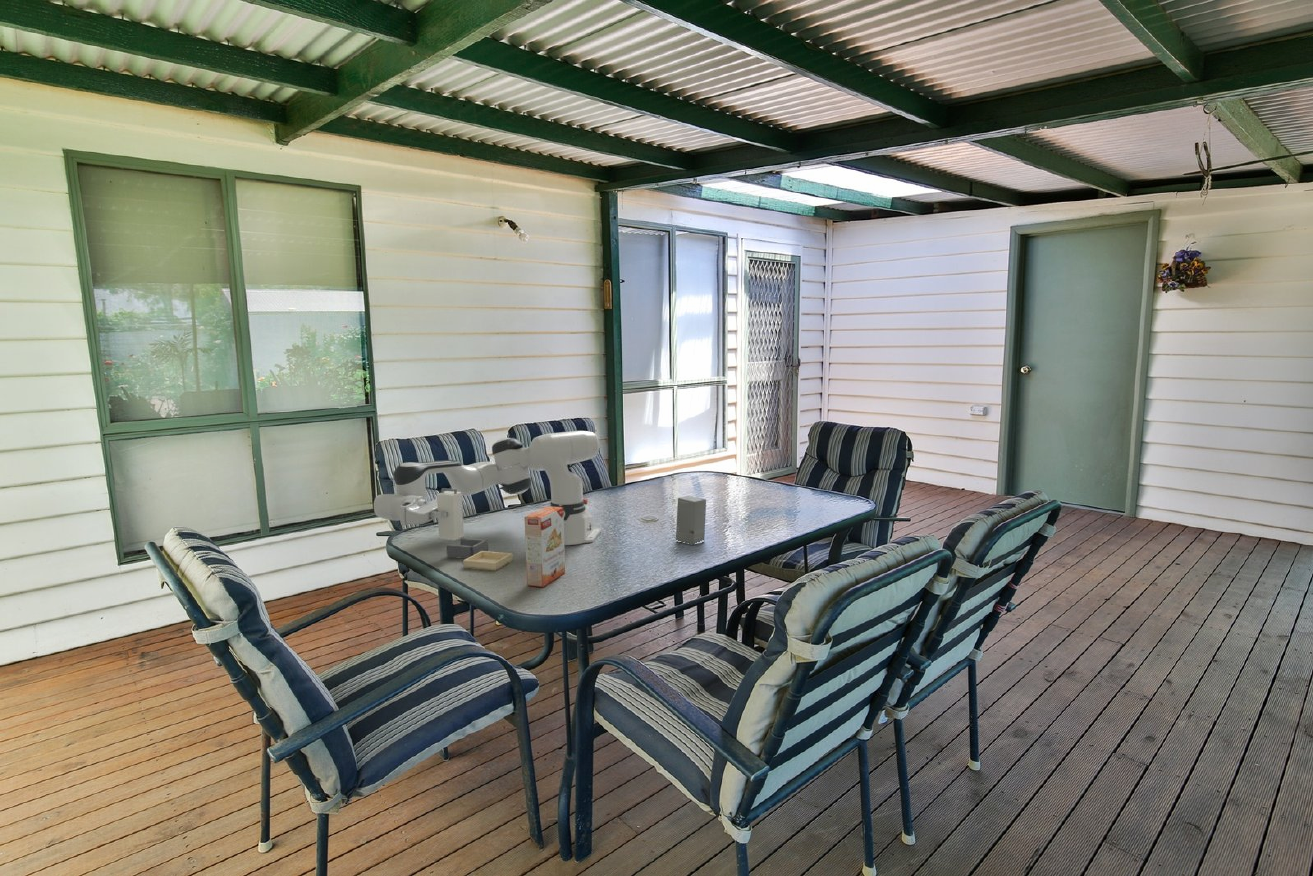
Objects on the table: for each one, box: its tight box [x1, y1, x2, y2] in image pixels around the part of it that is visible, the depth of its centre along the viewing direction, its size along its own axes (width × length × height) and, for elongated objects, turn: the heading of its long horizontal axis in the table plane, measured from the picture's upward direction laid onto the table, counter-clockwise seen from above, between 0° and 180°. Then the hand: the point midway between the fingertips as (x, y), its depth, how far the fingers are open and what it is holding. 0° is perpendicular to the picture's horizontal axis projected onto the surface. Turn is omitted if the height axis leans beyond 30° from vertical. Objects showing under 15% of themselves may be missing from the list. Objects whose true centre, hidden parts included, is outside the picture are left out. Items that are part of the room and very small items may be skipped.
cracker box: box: [524, 505, 566, 588], centre depth 210 cm, size 14×6×21 cm, turn 160°
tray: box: [462, 550, 514, 572], centre depth 227 cm, size 11×12×2 cm
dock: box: [446, 537, 490, 559], centre depth 239 cm, size 9×10×4 cm
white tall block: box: [436, 487, 464, 541], centre depth 233 cm, size 5×6×16 cm
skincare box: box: [675, 495, 707, 545], centre depth 247 cm, size 8×7×16 cm
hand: (452, 512), depth 232 cm, fingers closed on white tall block, 5 cm apart
